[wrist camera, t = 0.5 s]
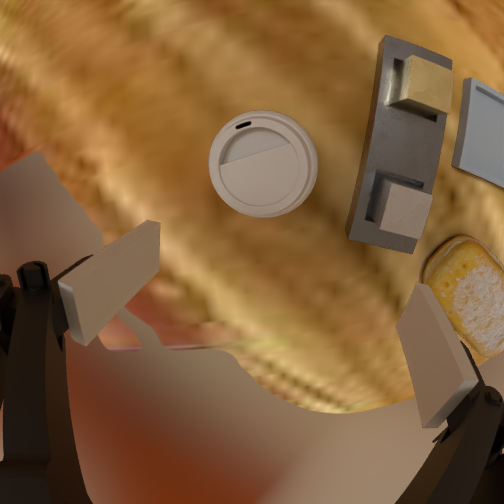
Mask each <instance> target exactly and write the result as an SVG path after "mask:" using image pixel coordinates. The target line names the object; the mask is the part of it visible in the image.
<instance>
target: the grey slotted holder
mask: <svg viewBox="0 0 504 504" xmlns="http://www.w3.org/2000/svg"><path fill="white" fill-rule="evenodd" d="M411 55H415V56H417V57H420V58H423V59H425V60H428V61H430V62H433V63H435V64H438V65H440V66H442V67H445V68H447V69H449V70H451V71H452V60H451V59H449V58H447V57H444V56H442V55H440V54H437V53H435V52H433V51H430V50H428V49H425V48H423V47H420V46H417V45H415V44H412V43H409V42H406V41H403V40H400V39H397V38H394V37H391V36H388V35H385V36H384V37H383V39H382V40H381V41H380V43H379V45H378V55H377V64H376V72H375V80H374V87H373V94H372V101H371V108H370V114H369V120H368V126H367V131H366V137H365V142H364V148H363V153H362V158H361V163H360V168H359V172H358V177H357V182H356V186H355V191H354V195H353V199H352V203H351V208H350V212H349V216H348V220H347V224H346V228H345V230H346V233H347V236H348V239H350V240H354V241H358V242H363V243H367V244H371V245H376V246H380V247H384V248H388V249H393V250H397V251H401V252H405V253H409V254H413V252H414V249H415V246H416V243H417V240H418V239H416V238H412V237H408V236H404V235H401V234H397V233H393V232H389V231H385V230H381V229H379V228H378V226H377V224H376V223H375V221H374V220H373V218H372V217H371V215H370V214H369V212H368V211H367V207H368V203H369V199H370V195H371V191H372V187H373V182H374V178H375V173H380V174H384V175H387V176H391V177H394V178H398V179H401V180H405V181H408V182H411V183H413V184H414V185H416V186H418V187H420V188H421V189H423V190H425V191H426V192H428V193H430V194H431V192H432V188H433V184H434V180H435V176H436V172H437V167H438V163H439V158H440V153H441V148H442V142H443V137H444V131H445V125H446V118H447V114H445V115H433V116H421V115H418V114H415V113H412V112H409V111H406V110H403V109H400V108H397V107H394V106H391V105H388V103H389V96H390V89H391V81H392V73H393V69H394V68H395V67H396V66H398V65H399V64H400V63H402V62H403V61H404V60H406V59H407V58H408V57H410V56H411Z"/></svg>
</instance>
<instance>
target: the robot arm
mask: <svg viewBox="0 0 504 504" xmlns="http://www.w3.org/2000/svg"><path fill="white" fill-rule="evenodd" d="M159 252H160V223H159V222H155V221H150V220H147V221H145V222H143V223H142V224H140V225H139V226H137V227H135V228H134V229H132V230H131V231H129V232H128V233H126V234H125V235H123V236H121V237H120V238H118V239H117V240H115V241H114V242H112V243H111V244H109V245H108V246H106V247H105V248H103V249H102V250H101V251H99V252H97V253H96V254H94V255H90V256H87V257H84V258H82V259H81V260H79V261H77V262H76V263H75V264H74V265H72V266H70V267H69V268H68V269H66V270H64V271H63V272H62V273H60V274H59V275H57V276H56V277H55V278H53V279H52V280H51V281H50V278H49V273H48V268H47V264H45V263H44V262H41V261H32V262H28V263H26V264H23V265H22V266H20V267H19V269H18V270H17V275H18V279H19V283H20V287H21V288H18V287H13V284H12V280H11V277H10V276H9V275H5V274H3V275H1V274H0V410H1V405H2V402H3V399H4V402H3V450H4V458H3V460H2V461H0V504H93V503H92V501H91V500H90V498H89V496H88V494H87V492H86V488H85V484H84V481H83V477H82V473H81V469H80V465H79V460H78V455H77V450H76V445H75V440H74V434H73V428H72V421H71V414H70V407H69V398H68V386H67V373H66V350H65V337H64V334H63V333H64V332H65V331H66V330H68V329H69V330H70V334H71V337H72V340H74V341H76V342H78V343H80V344H82V345H84V346H87V345H88V344H89V343H90V342H91V341H92V339H93V338H94V337H95V336H96V335H97V334H98V333H99V332H100V331H101V330H102V329H103V328H104V327H105V325H106V324H107V323H108V322H109V321H110V320H111V319H112V318H113V317H114V316H115V315H116V314H117V313H118V312H119V311H120V310H121V309H122V308H123V307H124V305H125V304H126V303H127V302H128V301H129V300H130V299H131V298H132V297H133V296H134V295H135V294H136V293H137V292H138V291H139V290H140V289H141V288H142V287H143V286H144V285H145V284H146V283H147V282H148V281H149V280H150V279H151V278H152V277H153V276H154V275H155V274H156V273H157V272H158V271H159ZM396 328H397V331H398V334H399V337H400V340H401V344H402V347H403V350H404V354H405V357H406V361H407V364H408V368H409V372H410V376H411V379H412V383H413V387H414V391H415V396H416V400H417V404H418V408H419V413H420V418H421V422H422V428H438V427H439V426H440V425H441V424H442V423H443V422H444V421H445V420H446V419H447V423H448V427H447V428H445V430H444V431H442V432H441V433H440V434H439V435H438V436H437V437H436V438H435V439H434V440H433V441H432V442H433V443H434V442H436V441H437V440H438V441H437V443H436V444H435V447H434V448H433V450H432V451H431V453H430V454H429V456H428V458H427V459H426V461H425V463H424V464H423V466H422V467H421V468H420V470H419V471H418V473H417V474H416V476H415V477H414V479H413V480H412V481H411V483H410V484H409V486H408V487H407V488H406V490H405V491H404V492H403V494H402V495H401V496H400V498H399V499H398V500H397V501H396V503H395V504H504V454H502V449H503V448H504V401H503V398H502V396H501V395H500V393H499V392H498V391H497V390H496V389H495V388H493V387H491V386H485V383H484V381H483V379H482V376H481V375H480V372H479V370H478V368H477V366H476V365H475V361H474V359H473V358H472V355H471V353H470V351H469V349H468V348H467V347H466V346H465V344H464V343H463V342H462V341H460V340H459V338H458V336H457V334H456V332H455V330H454V329H453V327H452V325H451V323H450V321H449V319H448V317H447V316H446V314H445V312H444V310H443V308H442V307H441V305H440V303H439V302H438V300H437V298H436V296H435V295H434V293H433V291H432V290H431V288H430V286H429V285H425V284H421V283H416V285H415V288H414V290H413V292H412V294H411V296H410V299H409V301H408V303H407V305H406V307H405V309H404V311H403V313H402V315H401V317H400V319H399V321H398V323H397V325H396Z"/></svg>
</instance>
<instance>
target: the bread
mask: <svg viewBox="0 0 504 504" xmlns="http://www.w3.org/2000/svg"><path fill="white" fill-rule="evenodd" d="M423 284H425V285H429V286H430V288H431V290H432V291H433V293H434V295H435V296H436V298H437V300H438V302H439V303H440V305H441V307H442V308H443V310H444V312H445V314H446V316H447V317H448V319H449V321H450V323H451V325H452V327H453V329H454V330H455V331H456V332H457V333H458V334H459V335H460V336H462V337H463V338H465V339H466V341H468V342H469V343H470V344H471V345H472V346H473V347H474V349H476V351H477V352H478V353H479V354H480V355H482V356H484V357H487V358H492V357H494V356H496V355H498V354H499V353H501V352H503V351H504V266H503V265H502V263H501V262H500V261H499V260H498V259H497V257H496V256H495V254H493V253H492V251H490V250H489V249H488V248H487V247H486V246H485V245H484V244H482V243H481V242H480V241H478V240H476V239H475V238H473V237H471V236H468V235H459V236H456V237H454V238H452V239H451V240H449V241H448V242H446V243H444V244H443V245H442V246H440V247H439V248H438V249H437V250H436V251H435V252H434V253H433V254H432V257H430V259H429V261H428V262H427V264H426V267H425V269H424V272H423Z"/></svg>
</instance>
